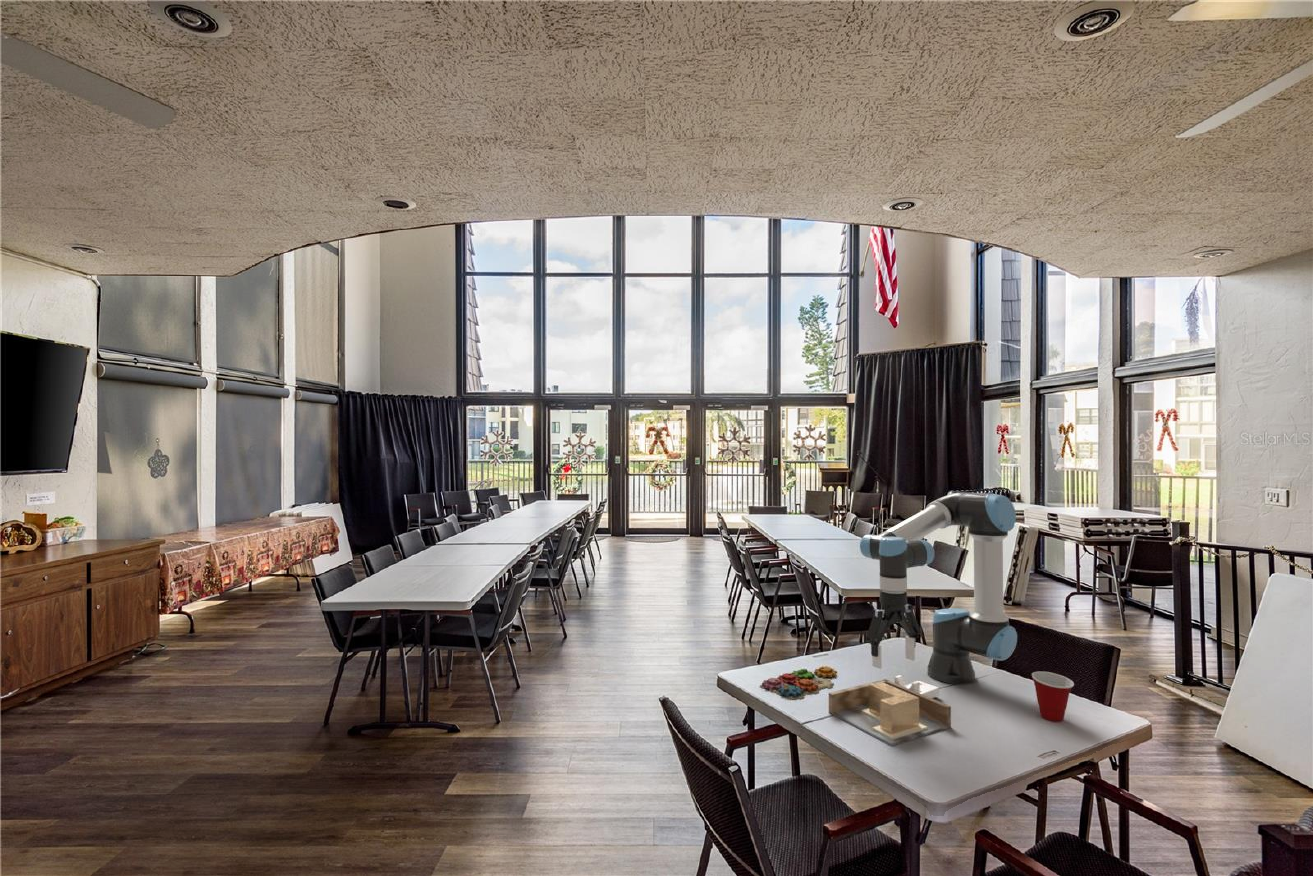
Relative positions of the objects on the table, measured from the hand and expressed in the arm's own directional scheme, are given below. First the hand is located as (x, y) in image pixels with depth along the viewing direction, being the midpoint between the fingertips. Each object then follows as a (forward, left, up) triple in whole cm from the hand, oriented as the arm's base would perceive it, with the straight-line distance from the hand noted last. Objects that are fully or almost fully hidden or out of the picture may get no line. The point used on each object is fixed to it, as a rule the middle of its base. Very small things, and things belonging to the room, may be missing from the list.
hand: (893, 663), depth 189 cm
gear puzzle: (+2, -36, -18) cm, 40 cm away
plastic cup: (-44, +20, -18) cm, 51 cm away
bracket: (-20, -9, -18) cm, 28 cm away
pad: (+3, 0, -17) cm, 17 cm away
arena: (0, -2, -17) cm, 17 cm away
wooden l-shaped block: (+3, 0, -16) cm, 16 cm away
